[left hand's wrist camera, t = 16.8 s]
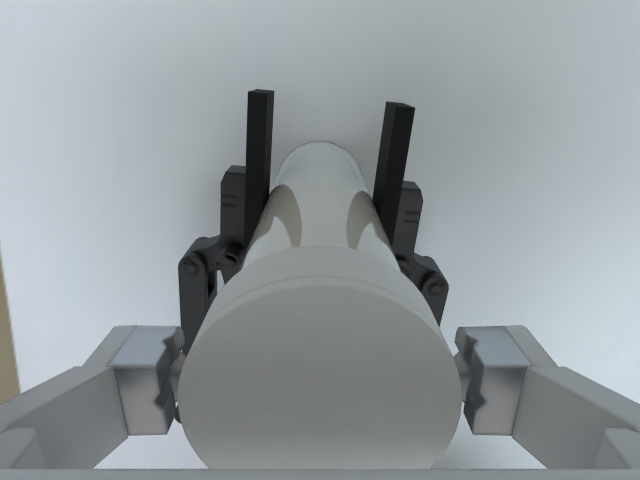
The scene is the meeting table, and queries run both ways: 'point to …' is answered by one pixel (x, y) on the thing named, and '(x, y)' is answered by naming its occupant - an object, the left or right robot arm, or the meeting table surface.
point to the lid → (319, 368)
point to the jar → (319, 207)
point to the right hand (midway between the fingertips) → (331, 99)
